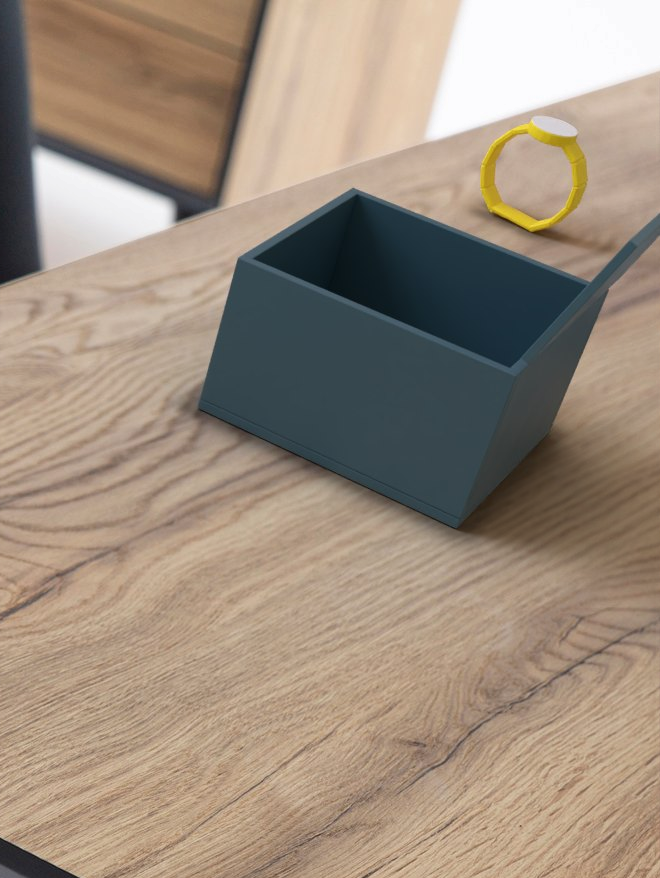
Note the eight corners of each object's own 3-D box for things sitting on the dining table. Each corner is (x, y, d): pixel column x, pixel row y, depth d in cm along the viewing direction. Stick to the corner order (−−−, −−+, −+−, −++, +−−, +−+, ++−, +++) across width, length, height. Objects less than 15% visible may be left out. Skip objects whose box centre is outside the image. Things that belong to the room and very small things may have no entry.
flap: (612, 273, 78) (618, 279, 78) (520, 358, 69) (527, 364, 69) (714, 163, 73) (722, 169, 73) (629, 239, 65) (637, 247, 65)
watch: (461, 207, 103) (495, 110, 99) (481, 197, 105) (515, 101, 101) (552, 246, 101) (590, 148, 97) (571, 235, 103) (609, 138, 99)
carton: (549, 432, 83) (609, 289, 78) (456, 529, 74) (517, 376, 70) (309, 327, 87) (352, 187, 83) (196, 408, 79) (237, 257, 74)
